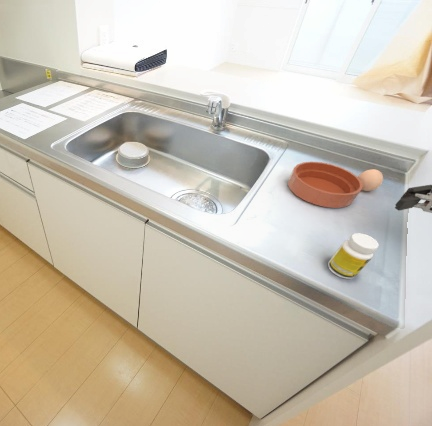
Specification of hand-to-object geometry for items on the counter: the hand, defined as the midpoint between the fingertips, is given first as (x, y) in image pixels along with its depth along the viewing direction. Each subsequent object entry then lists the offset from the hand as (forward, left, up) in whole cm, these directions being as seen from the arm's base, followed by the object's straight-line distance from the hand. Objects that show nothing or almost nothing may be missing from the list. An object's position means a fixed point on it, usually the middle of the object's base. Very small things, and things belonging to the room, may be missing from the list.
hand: (422, 220), depth 51 cm
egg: (+9, -24, -11) cm, 28 cm away
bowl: (+17, -15, -10) cm, 25 cm away
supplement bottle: (+5, +10, -11) cm, 16 cm away
